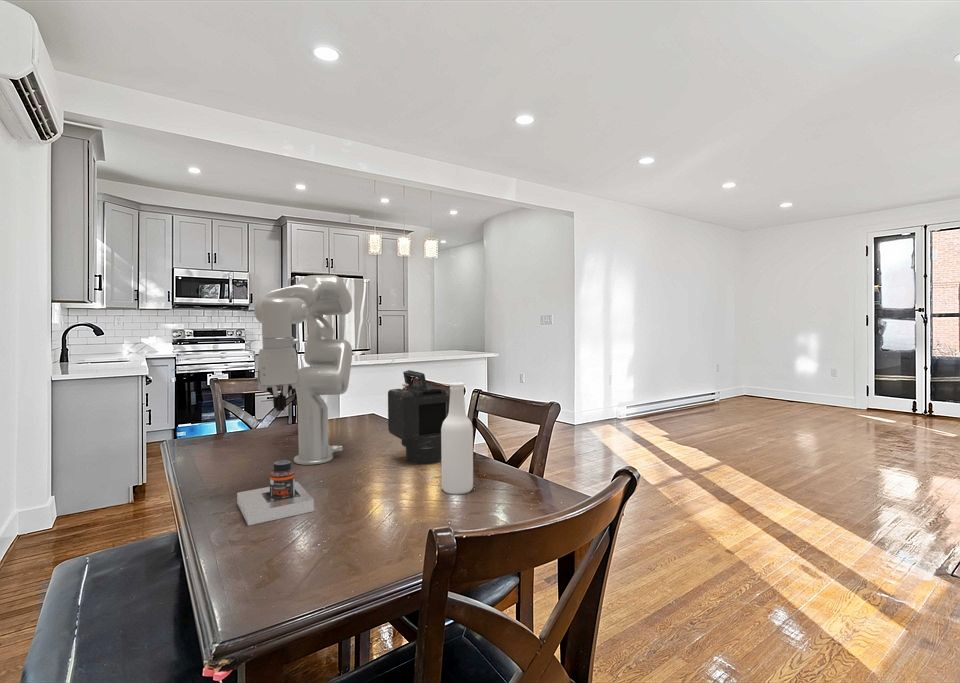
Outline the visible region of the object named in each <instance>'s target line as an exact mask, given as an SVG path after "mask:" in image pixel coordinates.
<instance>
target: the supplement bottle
mask: <svg viewBox="0 0 960 683" xmlns="http://www.w3.org/2000/svg"><path fill="white" fill-rule="evenodd" d="M291 462H292V461H290V460H287V459H282V460H278V461H275V462H273V470H271V472H270V473H269V487H270V502H275V501H280V500H285V499H290V498H295V482H296V478H295V476H296V475H295V474H296V473H295V470H294V469H293V468H292V466H291V464H292V463H291Z"/></svg>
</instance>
